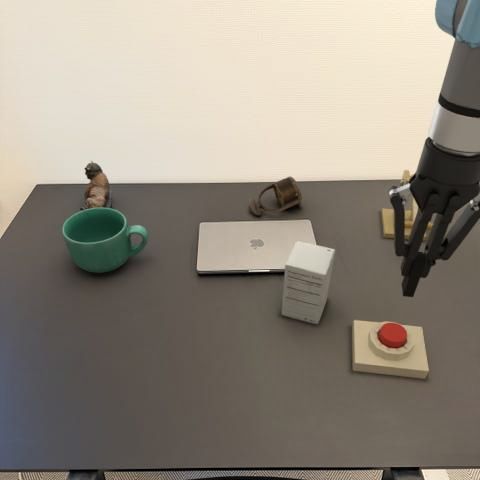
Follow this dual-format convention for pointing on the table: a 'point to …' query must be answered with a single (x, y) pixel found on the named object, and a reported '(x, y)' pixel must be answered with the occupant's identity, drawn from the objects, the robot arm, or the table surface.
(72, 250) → the mug
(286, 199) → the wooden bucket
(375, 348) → the button base
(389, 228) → the wooden lever device
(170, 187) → the table surface
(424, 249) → the robot arm
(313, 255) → the white packaging box
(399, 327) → the button
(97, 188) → the brown figurine
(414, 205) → the lever
